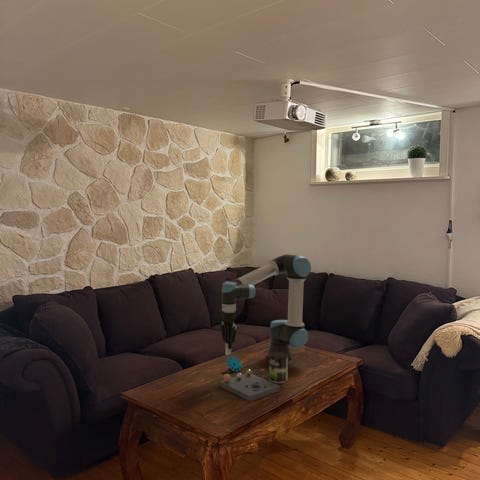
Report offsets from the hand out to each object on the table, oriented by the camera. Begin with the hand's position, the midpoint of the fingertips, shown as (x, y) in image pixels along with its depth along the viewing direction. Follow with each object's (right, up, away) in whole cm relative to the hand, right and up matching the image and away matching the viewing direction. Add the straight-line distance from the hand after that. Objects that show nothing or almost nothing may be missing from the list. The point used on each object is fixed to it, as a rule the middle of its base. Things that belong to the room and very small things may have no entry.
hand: (228, 354), depth 241 cm
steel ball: (+6, -10, -6) cm, 13 cm away
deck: (+10, -14, -11) cm, 21 cm away
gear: (+3, -13, +14) cm, 20 cm away
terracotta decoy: (0, -10, -10) cm, 14 cm away
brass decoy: (+11, -10, 0) cm, 15 cm away
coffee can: (+27, -14, 0) cm, 31 cm away
